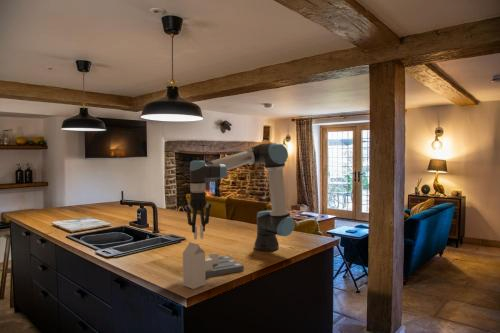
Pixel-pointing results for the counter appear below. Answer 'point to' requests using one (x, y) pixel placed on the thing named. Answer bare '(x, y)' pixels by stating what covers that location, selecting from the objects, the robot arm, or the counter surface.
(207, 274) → the breaker panel
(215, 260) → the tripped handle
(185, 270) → the milk carton
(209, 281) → the counter surface
